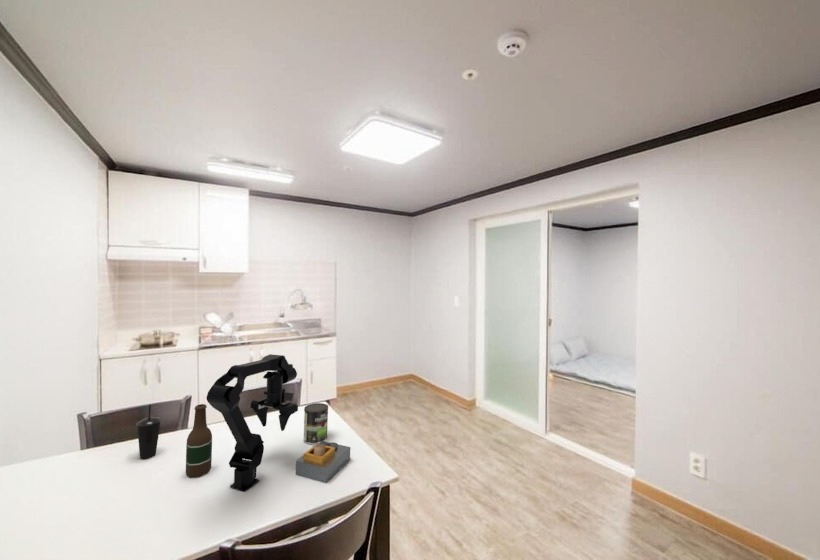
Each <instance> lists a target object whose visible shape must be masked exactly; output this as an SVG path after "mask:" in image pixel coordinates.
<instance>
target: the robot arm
mask: <svg viewBox="0 0 820 560" xmlns="http://www.w3.org/2000/svg"><path fill="white" fill-rule="evenodd" d="M265 372H266V373H265ZM261 373H265V374H264V375H263V376H262V378H263V379H266V390H264V391H263V394H264V395H266V397H265V396H261V397H258V398H255V399H253V400H251V402H250V409H252V412H254V413H255V414H256V416H257V418H258V419H259V421H260V423H261V425H262V427H264V428H265V427H266V426H267V420H268V411H269V409H270V408H271V409H275V410H278V413H279V414H278V419H279V426H280V430H281V432H283V431H285V429H286V426H287V423H288V421H289V419H290V417H291V415H294V414H295V413H297V412H299V405H298V404H297V403H295V402H292V401H293V398H294V394H295V392H290V391H289V392H288V391H286V388H283V387H284V385H285V384H287V383H289V382H291V381H294V380H295V379H296V378H297V376H298V372H297V369H296V368H295V367H294V364H292V363H289V362H288V360H287V359H286V356H285V355H281V354H271V353H270V354H268V355H265V356H263V357H262V359H260V360H256V361H250V362H246V363H243V364H238V365H237V364H234V365H232V366H231V367H230V368H229V369H228V370H227V372H226V373H224V374H223V375H222V376H220V377H219V378H217V379H216V381H214V383H213V384H212V386H211V388H210V389H209V390H208V392H207V394H206V401H207V403H208V404H209V405H210V406H211V407H212V408H213V409H214V410H215V411H217V412H219V413H221V415H222V417H223V420H224V421H225V423H226V425H227V427H228V429H229V430H230V433H231V434H232V436H233V439H234V440H235V442H236V443H235V446H234V452H233V454H232V456H231V458H230V460H229V461H228V465H229V467H230V468H233V469H234V470H233V471H234V472H233V473H234V475H233V483H231V484H230V488H232V489H235V490H237V491H242V492H246V491H248V489H250V488H252V487H253V486H255V485H256V484H257V483H259V482H260V478H257V468H258V467H259V466H260V465H261V464H262V459H263V457H264V451H265V446H264V443H265V441H263V439H262V436H261V434H258V433H253V432H252V431H251V430H250V428H249V425H248V423H247V421H246V419H245V417H244V415H243V413H242V410H241V408H240V407H239V404H240V400H241V394H242V392H243V390H244V388H245V380H246V379H247V377H250V376H254V375H257V374H261ZM234 379H236V383H235V384H234V386H233V385H228V384H229V383H230V382H232V381H233V380H234ZM287 401H288V402H287ZM284 403H285V404H284Z"/></svg>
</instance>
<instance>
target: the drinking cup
mask: <svg viewBox="0 0 820 560" xmlns="http://www.w3.org/2000/svg"><path fill="white" fill-rule="evenodd" d="M151 414H152V404H148V414H147V415H148V417H145V418H143V419H141V420H139V421H137V422H136V424H135V425H136V427H137V438H138V439H137V441H138V450H139V451H138V452H139V459H140V460H149V459H152V458H154V457H155V456H156V455H157V449H158V442H159V435H160V428H161V427H160V426H161V421H162V418H161V417H158V416H157V417H156V416H151Z"/></svg>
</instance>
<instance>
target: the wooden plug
mask: <svg viewBox="0 0 820 560" xmlns="http://www.w3.org/2000/svg"><path fill="white" fill-rule="evenodd" d="M315 445H316V444H315ZM315 445H314V455H318V456H323V455H324V454H325V445H324V444H318V445H316V446H315Z"/></svg>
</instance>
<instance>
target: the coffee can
mask: <svg viewBox="0 0 820 560" xmlns="http://www.w3.org/2000/svg"><path fill="white" fill-rule="evenodd" d="M303 410H304V414H303V415H304V416H303V418H304V419H303V440H304V441H303V443H304V444H307V443H308V444H307V445H312V444H313V445H316V444H317V443H320V442H322V441H325V440H326V439H327V440H328V420H329V416H328V415H329V405H328V404H327V403H321V402H319V403H318V402H317V403H316V402H315V403H310V404H308V405H305V406H304V409H303ZM327 440H326V441H327ZM326 441H325V442H326Z"/></svg>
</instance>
